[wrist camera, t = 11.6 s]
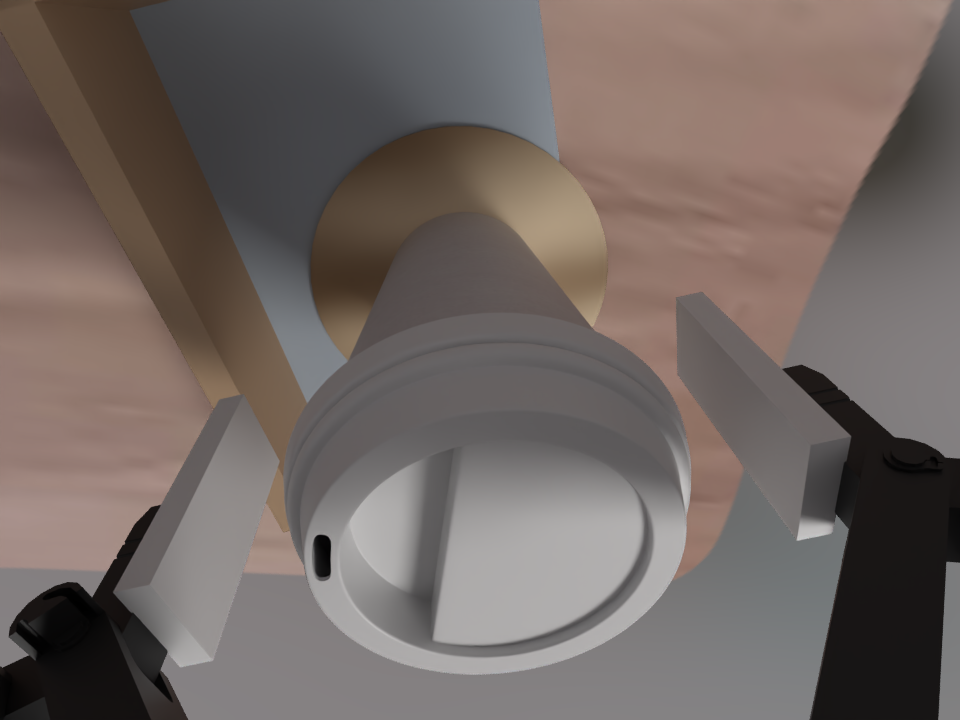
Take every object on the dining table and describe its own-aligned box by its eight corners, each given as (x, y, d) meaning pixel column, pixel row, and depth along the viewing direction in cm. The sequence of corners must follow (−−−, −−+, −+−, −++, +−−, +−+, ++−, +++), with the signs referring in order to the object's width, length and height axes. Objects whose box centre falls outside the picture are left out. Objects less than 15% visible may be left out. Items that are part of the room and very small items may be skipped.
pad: (262, 168, 22) (260, 169, 21) (590, 90, 21) (592, 91, 21) (365, 426, 28) (364, 430, 28) (617, 372, 28) (618, 375, 27)
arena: (88, -21, 19) (-42, -43, 14) (517, -131, 18) (550, -197, 13) (309, 445, 30) (283, 532, 24) (586, 386, 29) (619, 462, 24)
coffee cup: (415, 125, 21) (387, 268, 8) (614, 243, 24) (826, 486, 11) (319, 325, 25) (195, 637, 12) (500, 405, 28) (558, 725, 15)
